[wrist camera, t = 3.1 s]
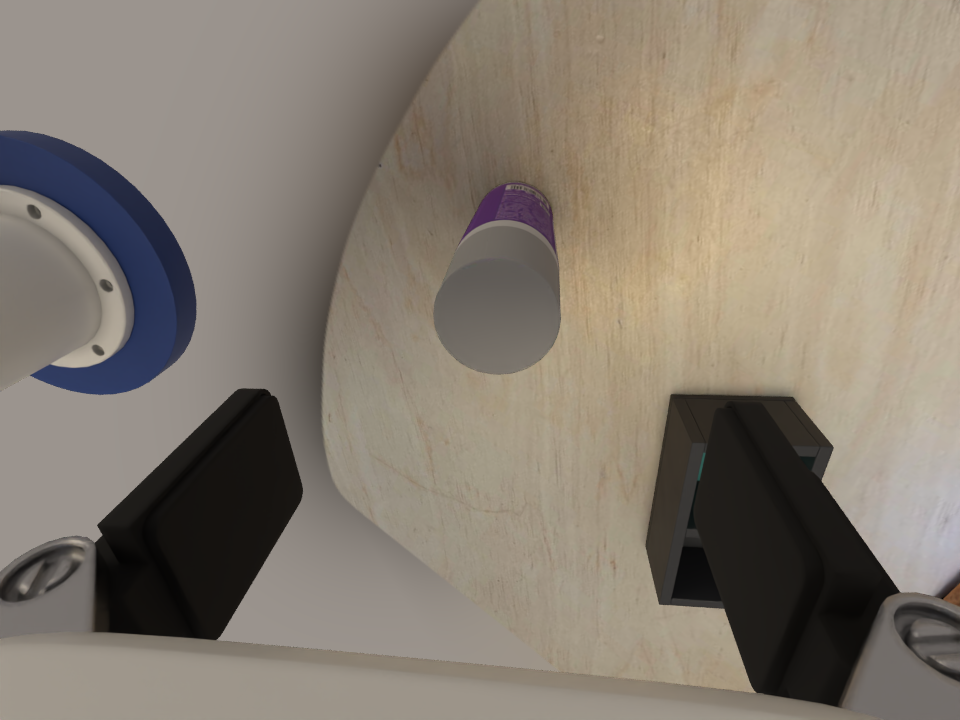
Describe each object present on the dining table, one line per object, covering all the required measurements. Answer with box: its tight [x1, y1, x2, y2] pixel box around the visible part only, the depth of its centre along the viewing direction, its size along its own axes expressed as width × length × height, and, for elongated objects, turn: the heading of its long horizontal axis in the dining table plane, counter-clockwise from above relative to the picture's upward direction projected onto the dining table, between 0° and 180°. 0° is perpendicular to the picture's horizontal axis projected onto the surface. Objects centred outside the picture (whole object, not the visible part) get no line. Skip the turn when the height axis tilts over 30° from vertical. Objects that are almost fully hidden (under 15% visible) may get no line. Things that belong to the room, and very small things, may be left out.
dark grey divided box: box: [646, 395, 834, 609], centre depth 36 cm, size 8×15×6 cm, turn 2°
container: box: [433, 182, 561, 374], centre depth 24 cm, size 5×5×15 cm
